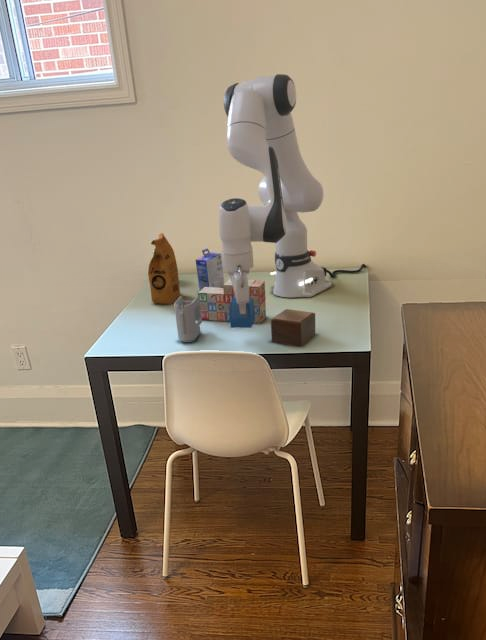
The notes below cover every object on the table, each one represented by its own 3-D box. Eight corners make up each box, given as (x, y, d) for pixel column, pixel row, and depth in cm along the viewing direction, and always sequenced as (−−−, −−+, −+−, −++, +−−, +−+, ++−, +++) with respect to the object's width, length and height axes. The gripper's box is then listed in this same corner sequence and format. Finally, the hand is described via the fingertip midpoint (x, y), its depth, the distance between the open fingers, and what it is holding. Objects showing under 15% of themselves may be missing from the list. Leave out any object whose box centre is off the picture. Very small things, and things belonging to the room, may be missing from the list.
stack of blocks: (200, 320, 222) (196, 283, 216) (207, 313, 227) (203, 277, 221) (260, 323, 216) (259, 286, 209) (266, 317, 221) (265, 280, 214)
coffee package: (147, 304, 239) (138, 241, 227) (159, 293, 249) (150, 232, 237) (174, 305, 237) (166, 241, 225) (184, 293, 247) (177, 232, 235)
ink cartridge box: (213, 284, 254) (209, 245, 246) (225, 286, 252) (222, 247, 244) (198, 292, 248) (194, 252, 240) (210, 294, 245) (206, 253, 237)
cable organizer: (204, 330, 214) (200, 293, 208) (193, 345, 204) (189, 306, 198) (184, 329, 216) (180, 293, 209) (173, 344, 205) (168, 306, 199)
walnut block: (286, 330, 209) (285, 308, 205) (315, 334, 205) (315, 311, 201) (271, 342, 202) (270, 318, 198) (301, 346, 198) (301, 323, 194)
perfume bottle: (251, 327, 197) (248, 287, 190) (230, 327, 198) (227, 287, 191) (255, 320, 202) (252, 280, 195) (235, 319, 203) (231, 280, 196)
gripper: (252, 270, 181) (255, 319, 189) (245, 250, 198) (248, 296, 206) (229, 273, 181) (233, 321, 188) (224, 252, 198) (228, 298, 205)
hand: (241, 308), depth 197 cm, fingers closed on perfume bottle, 7 cm apart
